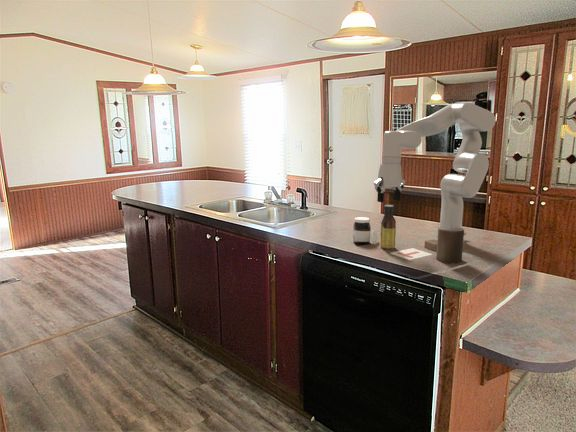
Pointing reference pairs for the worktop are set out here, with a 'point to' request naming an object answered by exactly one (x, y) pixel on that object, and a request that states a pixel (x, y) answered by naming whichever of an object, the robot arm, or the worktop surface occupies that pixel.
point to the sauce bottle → (388, 229)
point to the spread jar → (363, 232)
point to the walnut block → (431, 244)
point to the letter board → (411, 253)
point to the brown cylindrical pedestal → (450, 244)
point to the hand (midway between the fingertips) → (388, 201)
